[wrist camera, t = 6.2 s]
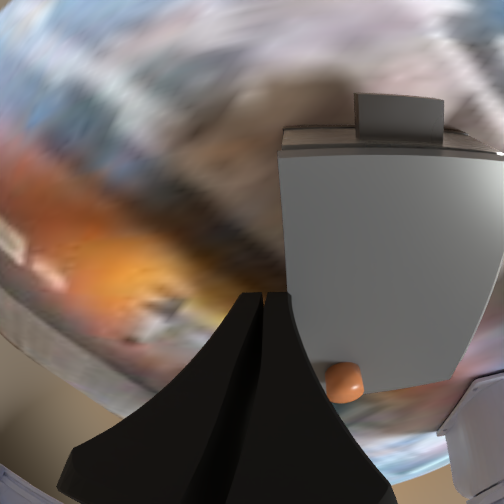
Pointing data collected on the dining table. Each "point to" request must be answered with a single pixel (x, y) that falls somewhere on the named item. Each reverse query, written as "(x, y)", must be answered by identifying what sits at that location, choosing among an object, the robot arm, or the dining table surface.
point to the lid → (389, 260)
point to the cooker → (387, 127)
